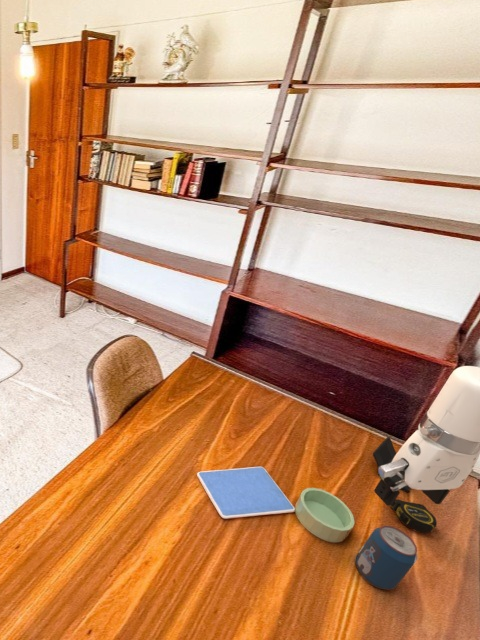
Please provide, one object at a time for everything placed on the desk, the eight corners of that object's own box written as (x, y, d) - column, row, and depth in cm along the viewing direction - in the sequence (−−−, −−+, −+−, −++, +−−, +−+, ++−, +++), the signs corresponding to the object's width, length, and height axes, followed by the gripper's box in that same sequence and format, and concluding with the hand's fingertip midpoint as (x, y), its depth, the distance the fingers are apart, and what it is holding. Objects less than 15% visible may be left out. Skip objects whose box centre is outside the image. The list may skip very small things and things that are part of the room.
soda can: (400, 581, 83) (427, 546, 77) (385, 600, 79) (413, 565, 74) (361, 550, 88) (385, 516, 83) (346, 567, 85) (369, 532, 79)
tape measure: (418, 512, 97) (425, 502, 95) (437, 539, 91) (445, 529, 89) (386, 505, 98) (393, 495, 96) (403, 532, 92) (410, 522, 90)
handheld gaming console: (421, 493, 99) (404, 454, 101) (384, 491, 104) (368, 453, 106) (423, 472, 107) (408, 436, 108) (389, 471, 112) (374, 436, 114)
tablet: (261, 468, 106) (263, 465, 106) (296, 513, 95) (297, 509, 95) (194, 474, 104) (196, 471, 104) (221, 521, 93) (223, 517, 92)
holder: (351, 522, 94) (359, 510, 92) (340, 552, 87) (348, 540, 85) (302, 491, 101) (308, 480, 99) (288, 517, 94) (294, 505, 92)
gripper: (425, 452, 64) (380, 518, 72) (522, 449, 65) (468, 515, 73) (384, 417, 71) (347, 481, 78) (473, 415, 72) (429, 479, 79)
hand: (406, 497), depth 75 cm, fingers open, 9 cm apart
